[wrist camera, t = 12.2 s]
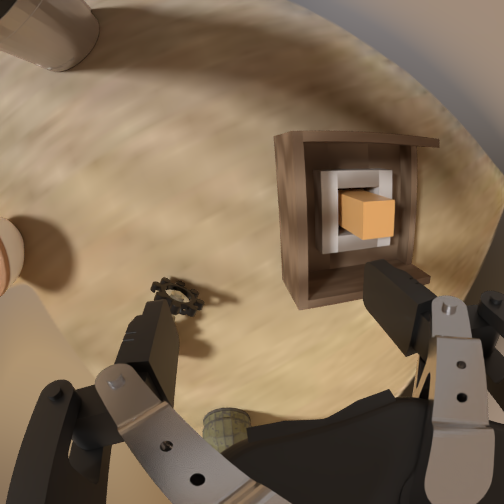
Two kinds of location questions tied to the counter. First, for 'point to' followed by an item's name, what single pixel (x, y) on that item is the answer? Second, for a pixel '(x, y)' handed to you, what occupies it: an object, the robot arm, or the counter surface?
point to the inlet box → (326, 209)
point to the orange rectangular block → (366, 214)
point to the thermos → (225, 427)
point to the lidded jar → (10, 254)
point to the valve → (177, 297)
